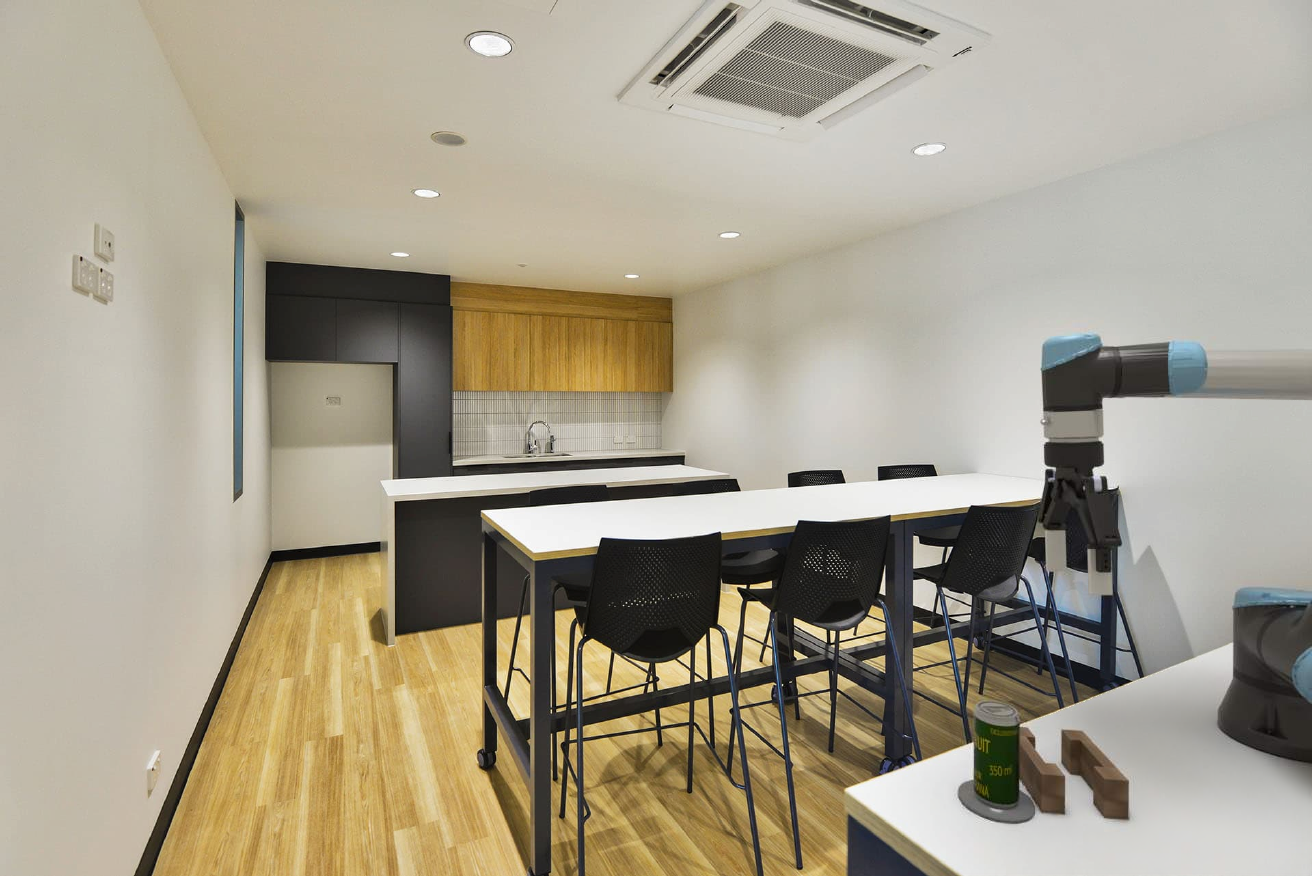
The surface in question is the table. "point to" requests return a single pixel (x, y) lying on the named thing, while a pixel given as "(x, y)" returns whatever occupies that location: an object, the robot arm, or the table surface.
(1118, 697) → the table surface
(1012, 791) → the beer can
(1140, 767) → the table surface
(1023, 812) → the coaster
